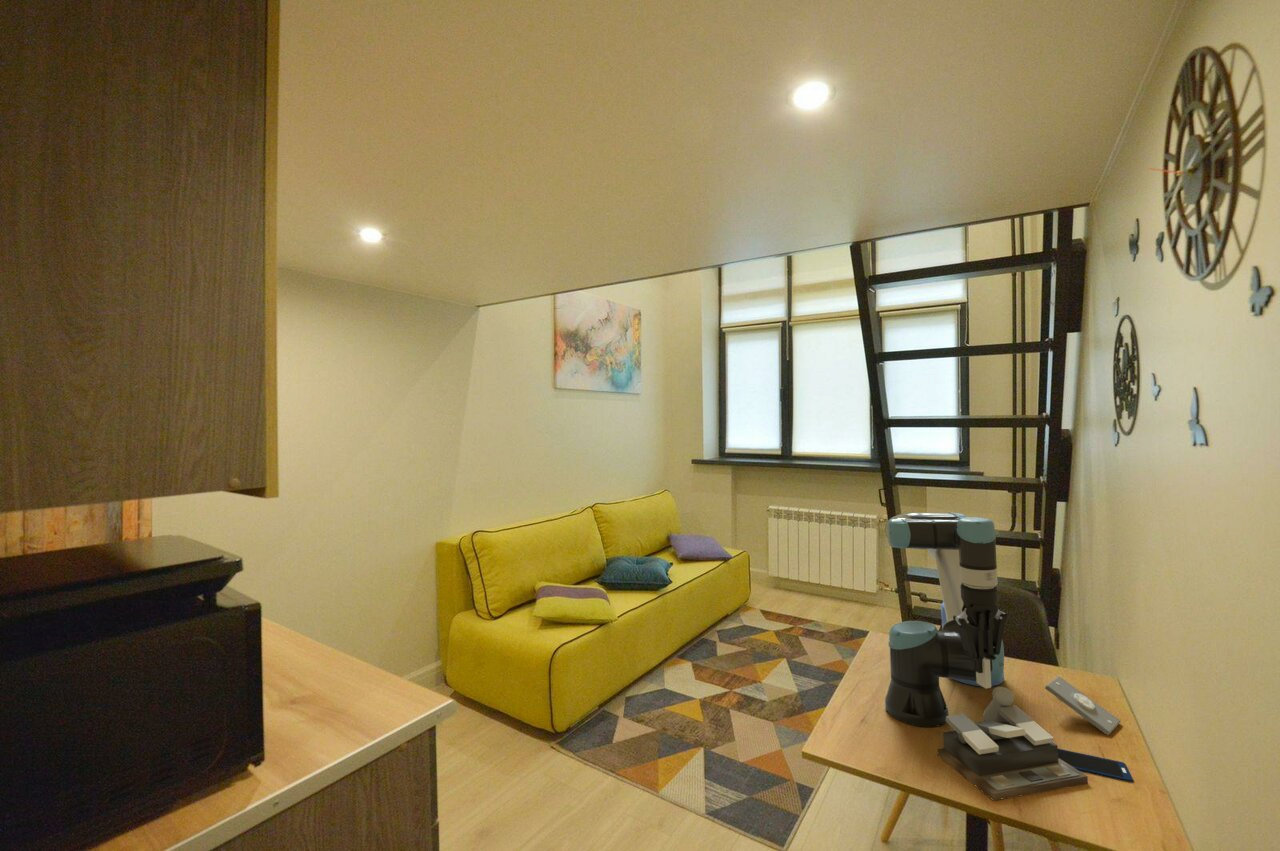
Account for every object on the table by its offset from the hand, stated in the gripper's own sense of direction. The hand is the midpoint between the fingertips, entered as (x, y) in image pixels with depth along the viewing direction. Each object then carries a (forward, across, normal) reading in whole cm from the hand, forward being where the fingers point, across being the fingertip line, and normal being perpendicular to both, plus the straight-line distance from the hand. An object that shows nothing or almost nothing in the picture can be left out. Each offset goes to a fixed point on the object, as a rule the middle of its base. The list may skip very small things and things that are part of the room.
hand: (983, 685), depth 127 cm
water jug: (+16, +26, +34) cm, 46 cm away
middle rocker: (+10, 0, -4) cm, 11 cm away
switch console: (+16, 0, -6) cm, 17 cm away
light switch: (+16, +34, +6) cm, 38 cm away
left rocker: (+10, -7, -3) cm, 13 cm away
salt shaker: (+15, +9, +8) cm, 19 cm away
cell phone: (+16, +18, -9) cm, 26 cm away
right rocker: (+10, +7, -3) cm, 13 cm away
